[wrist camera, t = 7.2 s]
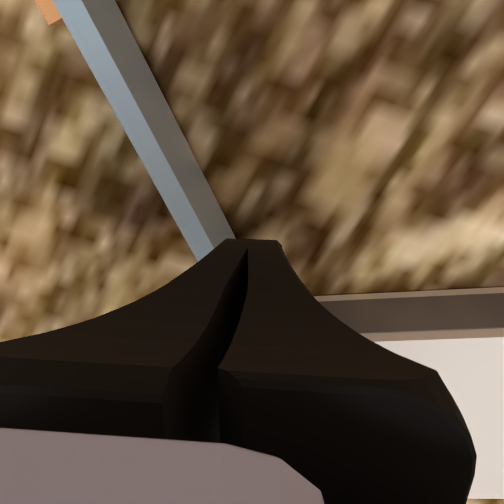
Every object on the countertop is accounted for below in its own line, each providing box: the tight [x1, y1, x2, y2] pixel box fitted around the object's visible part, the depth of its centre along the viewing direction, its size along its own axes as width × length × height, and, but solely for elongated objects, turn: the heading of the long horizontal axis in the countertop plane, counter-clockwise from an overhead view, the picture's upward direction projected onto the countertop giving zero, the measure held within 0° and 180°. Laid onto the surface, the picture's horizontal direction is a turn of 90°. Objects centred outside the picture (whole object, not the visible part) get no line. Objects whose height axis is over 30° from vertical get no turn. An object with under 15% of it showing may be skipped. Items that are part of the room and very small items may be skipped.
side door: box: [35, 0, 236, 261], centre depth 18 cm, size 13×2×3 cm, turn 25°
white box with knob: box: [314, 287, 504, 499], centre depth 21 cm, size 15×9×4 cm, turn 96°
